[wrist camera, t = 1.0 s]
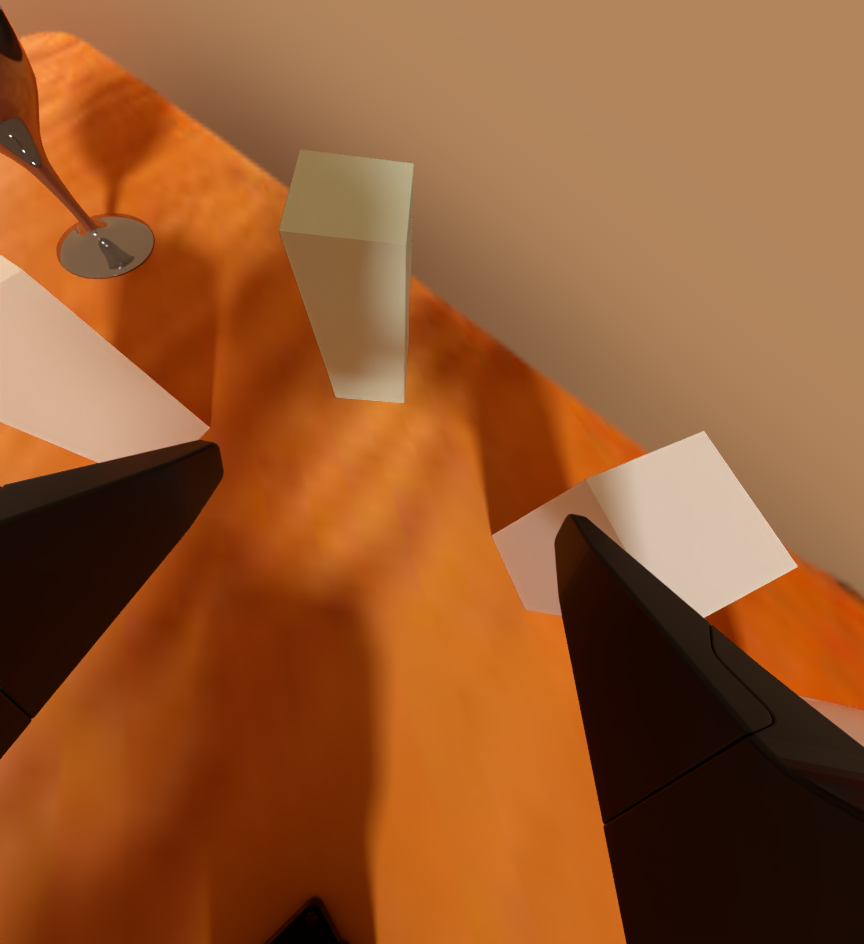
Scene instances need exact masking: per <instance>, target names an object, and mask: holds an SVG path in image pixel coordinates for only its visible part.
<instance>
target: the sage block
mask: <svg viewBox="0 0 864 944" xmlns="http://www.w3.org/2000/svg"><path fill="white" fill-rule="evenodd" d="M413 171H414V164H412V163H405V162H397V161H389V160H381V159H372V158H365V157H357V156H350V155H341V154H334V153H326V152H318V151H310V150H302V149H300V152H299V156H298V160H297V163H296V167H295V171H294V175H293V179H292V182H291V186H290V190H289V194H288V197H287V201H286V205H285V209H284V213H283V216H282V220H281V224H280V228H279V233H280V236H281V239H282V242H283V245H284V248H285V251H286V253H287V256H288V259H289V262H290V265H291V268H292V271H293V274H294V277H295V280H296V283H297V286H298V288H299V291H300V294H301V297H302V300H303V303H304V306H305V309H306V312H307V315H308V318H309V320H310V323H311V326H312V329H313V332H314V335H315V338H316V341H317V344H318V347H319V350H320V353H321V355H322V358H323V361H324V364H325V367H326V370H327V373H328V376H329V379H330V382H331V385H332V388H333V390H334V393H335V396H336V398H347V399H359V400H372V401H384V402H396V403H404V397H405V385H406V372H407V360H408V347H409V312H410V277H411V242H412V239H411V238H412V208H413Z"/></svg>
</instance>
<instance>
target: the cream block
mask: <svg viewBox="0 0 864 944" xmlns="http://www.w3.org/2000/svg"><path fill="white" fill-rule="evenodd" d="M0 422H2V423H4V424H7V425H9V426H11V427H14V428H16V429H19V430H21V431H23V432H26V433H28V434H31V435H33V436H35V437H38V438H40V439H43V440H45V441H47V442H50V443H52V444H55V445H57V446H59V447H62V448H64V449H67V450H69V451H71V452H74V453H76V454H79V455H81V456H83V457H86V458H88V459H91V460H93V461H95V462H98V463H101V462H105V461H109V460H114V459H118V458H122V457H127V456H131V455H135V454H139V453H144V452H148V451H152V450H157V449H161V448H165V447H170V446H174V445H178V444H183V443H187V442H191V441H195V440H199V439H200V438H201V437H202V436H203V435H204V434H205V433H206V432H207V431H208V430H209V429H210V427H209V426H207V425H206V424H205V423H204V422H203V421H201V420H200V419H199V418H198V417H197V416H196V415H194V414H193V413H192V412H191V411H190V410H188V409H187V408H186V407H185V406H184V405H182V404H181V403H180V402H179V401H178V400H176V399H175V398H174V397H173V396H172V395H171V394H169V393H168V392H167V391H166V390H165V389H163V388H162V387H161V386H160V385H159V384H157V383H156V382H155V381H154V380H153V379H152V378H150V377H149V376H148V375H147V374H146V373H144V372H143V371H142V370H141V369H140V368H138V367H137V366H136V365H135V364H134V363H133V362H131V361H130V360H129V359H128V358H127V357H125V356H124V355H123V354H122V353H121V352H119V351H118V350H117V349H116V348H115V347H114V346H112V345H111V344H110V343H109V342H108V341H106V340H105V339H104V338H103V337H102V336H100V335H99V334H98V333H97V332H96V331H95V330H93V329H92V328H91V327H90V326H89V325H87V324H86V323H85V322H84V321H83V320H81V319H80V318H79V317H78V316H77V315H76V314H74V313H73V312H72V311H71V310H70V309H68V308H67V307H66V306H65V305H64V304H62V303H61V302H60V301H59V300H58V299H56V298H55V297H54V296H53V295H52V294H51V293H49V292H48V291H47V290H46V289H45V288H43V287H42V286H41V285H40V284H39V283H37V282H36V281H35V280H34V279H33V278H32V277H30V276H29V275H28V274H27V273H26V272H24V271H23V270H22V269H21V268H19V267H18V266H16V265H14V264H13V263H11V262H10V261H8V260H7V259H5V258H4V257H2V256H1V255H0Z"/></svg>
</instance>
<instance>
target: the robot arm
mask: <svg viewBox="0 0 864 944" xmlns="http://www.w3.org/2000/svg"><path fill="white" fill-rule="evenodd" d="M223 472H224V471H223V464H222V459H221V454H220V449H219V446H218V445H217V444H216V443H214V442H209V441H204V440H195V441H191V442H187V443H183V444H178V445H174V446H170V447H165V448H161V449H157V450H152V451H148V452H144V453H139V454H135V455H131V456H127V457H122V458H118V459H114V460H109V461H105V462H101V463H96V464H92V465H88V466H83V467H79V468H75V469H70V470H66V471H62V472H58V473H53V474H49V475H45V476H40V477H36V478H32V479H27V480H23V481H19V482H14V483H10V484H6V485H4V486H3V487H1V486H0V759H1V758H2V756H3V755H4V754H5V753H6V752H7V750H8V749H9V748H10V747H11V746H12V744H13V743H14V742H15V741H16V739H17V738H18V737H19V736H20V735H21V733H22V732H23V731H24V730H25V728H26V727H27V726H28V725H29V724H30V722H31V721H32V720H31V719H32V718H34V717H35V716H36V715H37V713H38V712H39V711H40V710H41V709H42V707H43V706H44V705H45V704H46V702H47V701H48V700H49V699H50V698H51V696H52V695H53V694H54V693H55V692H56V690H57V689H58V688H59V687H60V685H61V684H62V683H63V682H64V681H65V679H66V678H67V677H68V676H69V674H70V673H71V672H72V671H73V670H74V668H75V667H76V666H77V665H78V664H79V662H80V661H81V660H82V659H83V657H84V656H85V655H86V654H87V653H88V651H89V650H90V649H91V648H92V646H93V645H94V644H95V643H96V642H97V640H98V639H99V638H100V637H101V636H102V634H103V633H104V632H105V631H106V629H107V628H108V627H109V626H110V625H111V623H112V622H113V621H114V620H115V618H116V617H117V616H118V615H119V614H120V612H121V611H122V610H123V609H124V608H125V606H126V605H127V604H128V603H129V601H130V600H131V599H132V598H133V597H134V595H135V594H136V593H137V592H138V591H139V589H140V588H141V587H142V586H143V584H144V583H145V582H146V581H147V580H148V578H149V577H150V576H151V575H152V573H153V572H154V571H155V570H156V569H157V567H158V566H159V565H160V564H161V563H162V561H163V560H164V559H165V558H166V556H167V555H168V554H169V553H170V552H171V550H172V549H173V548H174V547H175V545H176V544H177V543H178V542H179V541H180V539H181V538H182V537H183V536H184V534H185V533H186V532H187V531H188V529H189V528H190V527H191V525H192V524H193V522H194V521H195V520H196V518H197V517H198V515H199V514H200V512H201V510H202V509H203V507H204V506H205V504H206V503H207V501H208V500H209V498H210V497H211V495H212V494H213V492H214V491H215V489H216V487H217V486H218V484H219V483H220V481H221V480H222V477H223ZM554 548H555V561H556V573H557V586H558V596H559V603H560V609H561V614H562V619H563V624H564V629H565V634H566V639H567V644H568V649H569V654H570V659H571V664H572V669H573V674H574V679H575V684H576V690H577V695H578V700H579V705H580V710H581V715H582V720H583V725H584V730H585V735H586V740H587V745H588V750H589V755H590V760H591V765H592V770H593V775H594V780H595V785H596V790H597V796H598V801H599V806H600V811H601V816H602V821H603V823H604V824H605V825H604V832H605V837H606V842H607V847H608V853H609V858H610V863H611V868H612V873H613V878H614V883H615V888H616V893H617V898H618V903H619V908H620V913H621V918H622V923H623V928H624V933H625V938H626V943H627V944H864V746H862V745H861V744H860V743H858V742H857V741H856V740H855V739H853V738H852V737H851V736H849V735H848V734H847V733H846V732H844V731H843V730H842V729H840V728H839V727H838V726H837V725H835V724H834V723H833V722H832V721H830V720H829V719H828V718H826V717H825V716H824V715H823V714H821V713H820V712H819V711H817V710H816V709H815V708H814V707H812V706H811V705H810V704H808V703H807V702H806V701H805V700H803V699H802V698H801V697H800V696H798V695H797V694H796V693H794V692H793V691H792V690H791V689H789V688H788V687H787V686H786V685H784V684H783V683H782V682H780V681H779V680H778V679H777V678H775V677H774V676H773V675H772V674H770V673H769V672H768V671H767V670H765V669H764V668H763V667H762V666H760V665H759V664H758V663H757V662H755V661H754V660H753V659H752V658H751V657H749V656H748V655H747V654H746V653H745V652H743V651H742V650H741V649H740V648H739V647H737V646H736V645H735V644H734V643H733V642H731V641H730V640H729V639H728V638H727V637H726V636H724V635H723V634H722V633H721V632H720V631H719V630H718V629H716V628H715V627H714V626H713V625H709V622H708V621H707V620H706V619H705V618H703V617H702V616H701V615H700V614H699V613H698V612H696V611H695V610H694V609H693V608H692V607H691V606H689V605H688V604H687V603H686V602H685V601H684V600H682V599H681V598H680V597H679V596H678V595H677V594H675V593H674V592H673V591H672V590H671V589H670V588H668V587H667V586H666V585H665V584H664V583H663V582H661V581H660V580H659V579H658V578H657V577H655V576H654V575H653V574H652V573H651V572H650V571H648V570H647V569H646V568H645V567H644V566H643V565H641V564H640V563H639V562H638V561H637V560H636V559H634V558H633V557H632V556H631V555H630V554H629V553H627V552H626V551H625V550H624V549H623V548H622V547H620V546H619V545H618V544H617V543H616V542H615V541H613V540H612V539H611V538H610V537H609V536H608V535H606V534H605V533H604V532H603V531H602V530H601V529H599V528H598V527H597V526H596V525H595V524H594V523H592V522H591V521H590V520H589V519H588V518H587V517H585V516H581V515H576V514H568V515H567V516H566V518H565V519H564V521H563V523H562V525H561V527H560V529H559V531H558V533H557V535H556V538H555V542H554ZM310 912H315V913H316V914H317V917H316V918H314V919H311V918H310V917H309V915H308V913H310ZM265 944H349V942H348V941H347V940H345V939H342V938H341V936H340V934H339V932H338V930H337V928H336V926H335V925H334V923H333V921H332V919H331V917H330V915H329V913H328V911H327V909H326V907H325V905H324V904H323V902H322V901H321V899H319V898H316V897H315V898H311V899H310V900H308V901H307V902H306V903H305V904H304V905H303V906H302V907H301V908H300V909H299V910H298V911H297V912H296V913H295V914H294V915H293V916H292V917H291V918H290V919H289V920H288V921H287V922H286V923H285V924H284V925H283V926H282V927H281V928H280V929H279V930H278V931H277V932H276V933H275V934H274V935H273V936H272V937H271V938H270V939H269V940H268V941H267V942H266V943H265Z"/></svg>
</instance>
